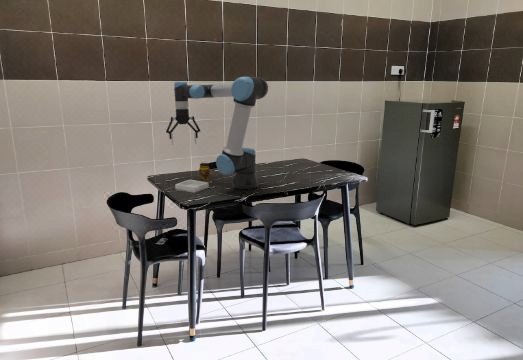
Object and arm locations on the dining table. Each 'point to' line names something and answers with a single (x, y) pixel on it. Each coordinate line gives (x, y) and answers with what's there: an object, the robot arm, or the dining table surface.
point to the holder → (192, 186)
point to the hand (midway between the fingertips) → (184, 144)
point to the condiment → (204, 172)
